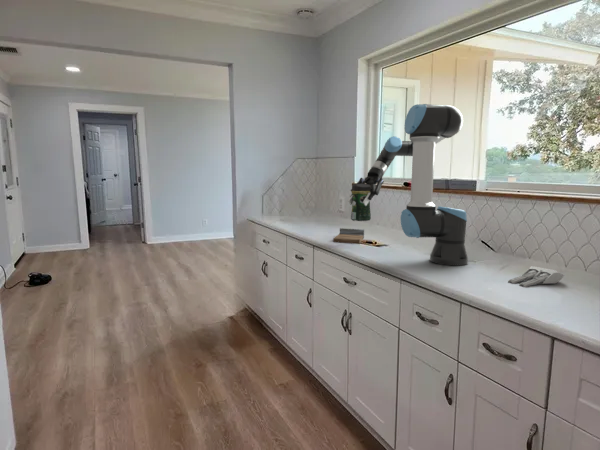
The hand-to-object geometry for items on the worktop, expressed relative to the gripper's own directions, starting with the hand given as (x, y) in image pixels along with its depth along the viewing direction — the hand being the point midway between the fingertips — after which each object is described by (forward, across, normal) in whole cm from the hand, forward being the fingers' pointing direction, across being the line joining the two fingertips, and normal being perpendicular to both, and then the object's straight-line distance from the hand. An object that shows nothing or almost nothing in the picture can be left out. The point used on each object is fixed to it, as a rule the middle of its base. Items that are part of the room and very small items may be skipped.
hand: (357, 203), depth 188 cm
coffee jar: (+4, 0, -9) cm, 10 cm away
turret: (+17, -80, -16) cm, 84 cm away
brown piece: (+6, +15, -25) cm, 30 cm away
